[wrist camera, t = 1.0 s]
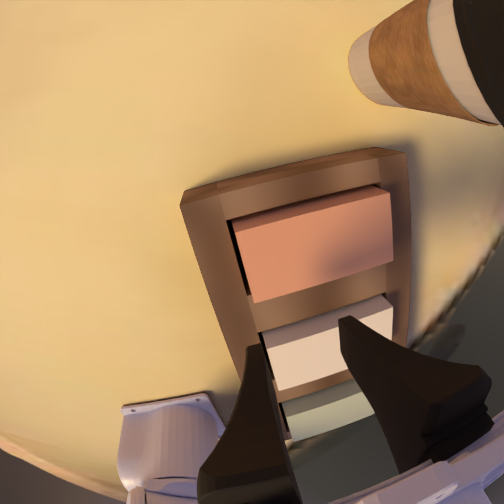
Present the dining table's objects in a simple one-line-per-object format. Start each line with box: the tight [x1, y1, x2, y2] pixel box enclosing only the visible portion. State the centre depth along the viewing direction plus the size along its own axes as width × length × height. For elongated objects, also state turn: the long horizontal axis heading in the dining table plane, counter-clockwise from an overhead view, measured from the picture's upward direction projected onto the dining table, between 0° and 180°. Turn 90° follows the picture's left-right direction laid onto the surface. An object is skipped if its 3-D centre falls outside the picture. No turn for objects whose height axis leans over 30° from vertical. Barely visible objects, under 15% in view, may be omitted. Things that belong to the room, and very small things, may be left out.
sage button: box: [281, 378, 375, 442], centre depth 25 cm, size 9×4×4 cm, turn 103°
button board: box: [180, 147, 411, 441], centre depth 23 cm, size 14×24×4 cm, turn 13°
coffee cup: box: [348, 0, 504, 127], centre depth 12 cm, size 8×8×15 cm
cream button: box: [262, 294, 393, 391], centre depth 22 cm, size 9×4×4 cm, turn 103°
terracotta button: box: [231, 184, 393, 303], centre depth 19 cm, size 9×4×4 cm, turn 103°
